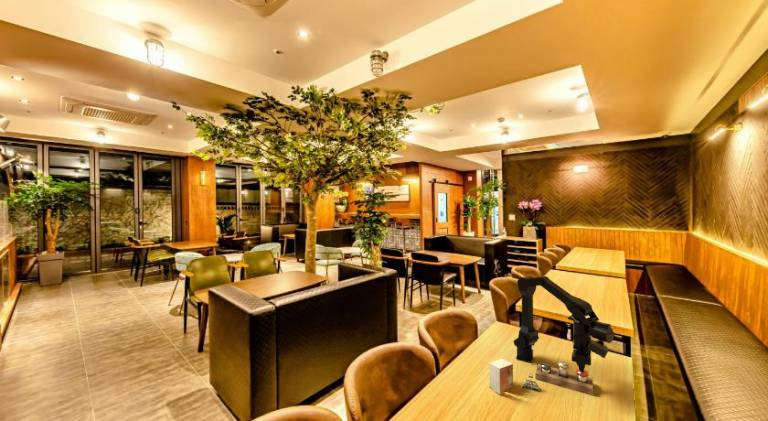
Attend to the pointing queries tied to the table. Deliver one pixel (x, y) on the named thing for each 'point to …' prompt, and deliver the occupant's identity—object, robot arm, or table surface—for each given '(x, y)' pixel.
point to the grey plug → (546, 367)
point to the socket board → (565, 380)
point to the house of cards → (531, 383)
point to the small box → (500, 375)
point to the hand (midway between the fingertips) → (581, 371)
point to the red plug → (582, 376)
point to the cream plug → (563, 369)
